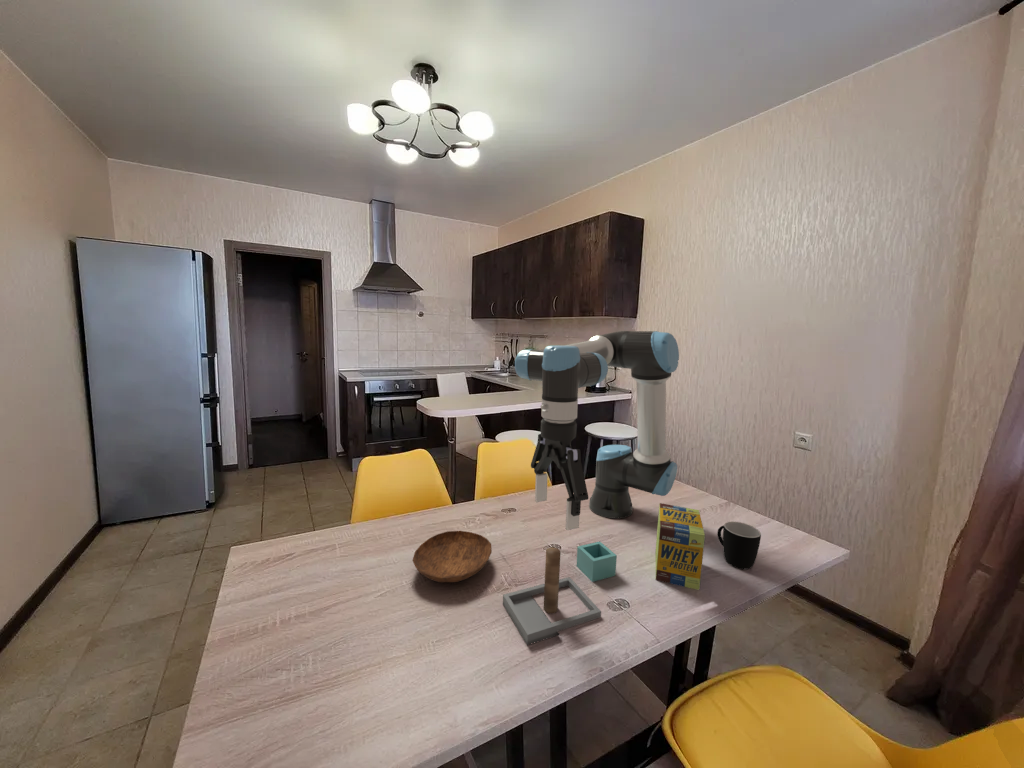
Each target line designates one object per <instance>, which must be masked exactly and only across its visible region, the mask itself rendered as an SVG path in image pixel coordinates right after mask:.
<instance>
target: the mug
mask: <svg viewBox="0 0 1024 768" xmlns="http://www.w3.org/2000/svg"><path fill="white" fill-rule="evenodd" d="M722 530H723V531H722ZM716 534H717V539H718V541H719V543H720V545H721V546H722V549H723V556H724V559H725V562H727V564H729V565H730V566H731V567H733V568H737V569H739V570H749V569H751V568H752V567H753V566H754V564H755V561H756V559H757V557H758V553H759V548H760V543H761V537H762V533H761V531H760V530H759V529H757V528H756V526H753V525H750V524H748V523H745V522H740V521H734V520H733V521H727V522H725V523H724V524H723V525H721V526H720V527H719V528H718V529H717V533H716Z"/></svg>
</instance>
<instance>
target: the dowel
mask: <svg viewBox="0 0 1024 768" xmlns="http://www.w3.org/2000/svg"><path fill="white" fill-rule="evenodd" d="M544 566H545V567H544V584H545V585H544V592H543V612H544V613H546V614H551V615H553V614H556V613H557V612H558V609H559V606H558V605H559V589H560V588H559V580H560V572H561V569H560V568H561V550H560V549H559V548H556V547H549V548H547V549H546V550H545V565H544Z"/></svg>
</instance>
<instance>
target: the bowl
mask: <svg viewBox="0 0 1024 768" xmlns="http://www.w3.org/2000/svg"><path fill="white" fill-rule="evenodd" d="M492 550H493V549H492V543H491V542H490V541H489V539H488V538H487V537H485V536H483V535H481V534H478V533H475V532H471V531H464V530H449V531H448V530H447V531H445V532H441V533H438V534H435V535H433V536H431V537H429V538H428V539H427V540H425V541H424V542H422V543H421V544H420V545H419V546H418V548H417V549H416V550H415V551H414V554H413V557H412V562H413V564H414V567H415V569H416V570H417V571H418V573H419V574H421V575H422V576H424V577H425V578H428V579H429V580H430V581H435V582H438V583H459V582H462V581H465V580H467V579H469V578H470V577H473V576H474V575H476V574H477V573H479V572H480V571H481V570H482V569H483V568H484V567H485V565H486V564H487V562H488V561H489V558H490V557H491V554H492V553H493V552H492Z"/></svg>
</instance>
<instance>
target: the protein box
mask: <svg viewBox="0 0 1024 768" xmlns="http://www.w3.org/2000/svg"><path fill="white" fill-rule="evenodd" d="M657 516H658V517H657V519H658V520H657V528H656V529H657V530H656V539H655V555H654V556H655V581H658V582H662V583H666V584H667V583H668V584H672V585H675V586H680V587H683V588H688V589H691V590H692V589H693V590H698V591H699V590H700V587H701V577H702V568H703V559H704V558H703V557H704V548H705V540H706V537H705V536H706V534H705V529H704V525H703V522H702V521H703V520H702V517H701V513H700V509H695V508H688V507H684V506H678V505H673V504H667V503H662V502H659V507H658V515H657Z"/></svg>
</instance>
